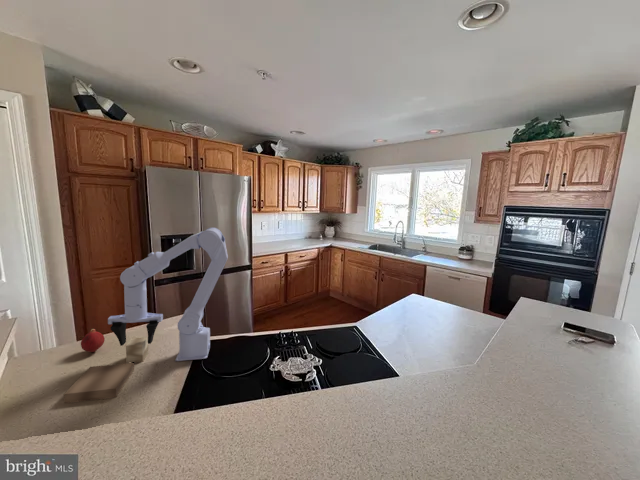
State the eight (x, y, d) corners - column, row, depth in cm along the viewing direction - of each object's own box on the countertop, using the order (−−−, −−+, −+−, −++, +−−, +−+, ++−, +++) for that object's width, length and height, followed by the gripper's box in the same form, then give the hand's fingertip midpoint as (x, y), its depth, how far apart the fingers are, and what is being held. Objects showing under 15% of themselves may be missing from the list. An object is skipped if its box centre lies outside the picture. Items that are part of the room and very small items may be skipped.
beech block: (148, 353, 86) (147, 337, 85) (142, 361, 81) (142, 344, 81) (132, 355, 84) (132, 338, 84) (126, 363, 80) (125, 345, 79)
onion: (91, 358, 81) (89, 335, 80) (76, 355, 82) (75, 332, 81) (109, 348, 87) (108, 326, 86) (95, 345, 88) (94, 324, 87)
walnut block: (134, 371, 77) (134, 362, 77) (116, 398, 67) (115, 388, 66) (90, 376, 74) (90, 366, 74) (64, 405, 64) (63, 394, 63)
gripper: (165, 297, 86) (166, 335, 88) (115, 299, 82) (116, 338, 84) (158, 305, 79) (159, 346, 81) (103, 307, 75) (105, 350, 77)
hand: (137, 343), depth 82 cm, fingers open, 7 cm apart
